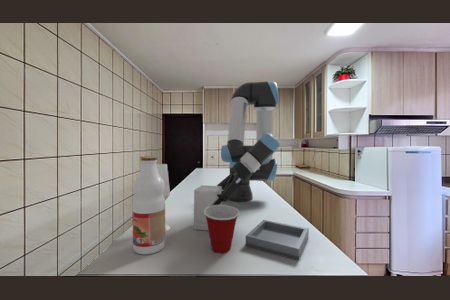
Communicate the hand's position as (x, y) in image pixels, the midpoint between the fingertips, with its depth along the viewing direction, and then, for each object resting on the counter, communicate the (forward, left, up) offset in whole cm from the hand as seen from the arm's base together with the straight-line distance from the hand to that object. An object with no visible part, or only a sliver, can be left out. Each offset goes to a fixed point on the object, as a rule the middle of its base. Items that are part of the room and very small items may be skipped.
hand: (207, 206), depth 81 cm
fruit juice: (+22, -6, -8) cm, 24 cm away
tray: (-2, +27, -8) cm, 28 cm away
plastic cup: (+11, +13, -8) cm, 19 cm away
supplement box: (-1, 0, -8) cm, 8 cm away
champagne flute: (+10, -14, -8) cm, 19 cm away
